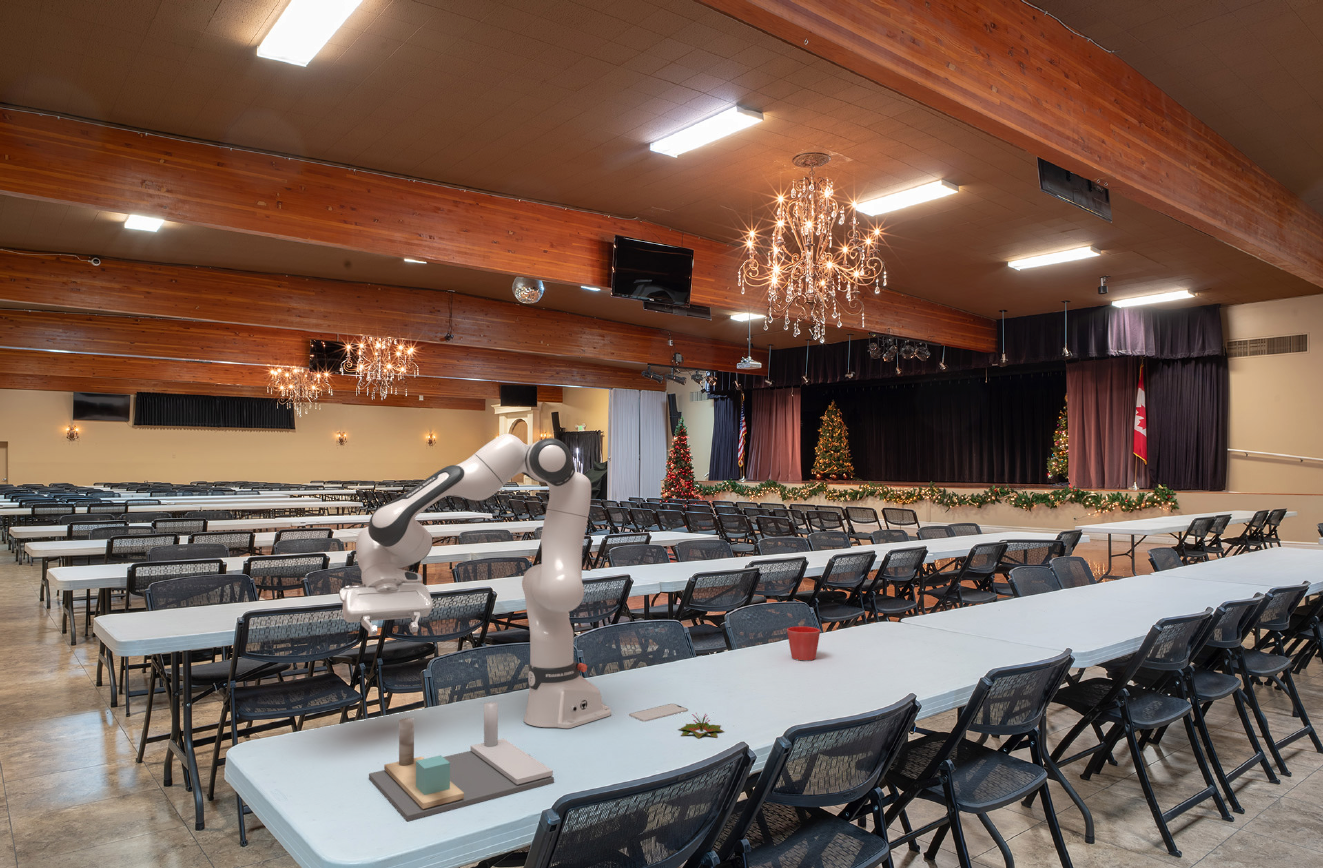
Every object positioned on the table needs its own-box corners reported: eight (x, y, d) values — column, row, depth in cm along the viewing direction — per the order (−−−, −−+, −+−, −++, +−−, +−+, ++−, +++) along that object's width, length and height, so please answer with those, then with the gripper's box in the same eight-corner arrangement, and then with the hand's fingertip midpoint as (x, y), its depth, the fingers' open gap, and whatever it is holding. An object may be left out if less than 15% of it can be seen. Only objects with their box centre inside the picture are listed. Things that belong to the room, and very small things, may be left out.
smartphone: (627, 714, 207) (672, 703, 216) (627, 716, 207) (672, 705, 216) (643, 721, 201) (689, 709, 211) (643, 723, 201) (689, 711, 211)
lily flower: (723, 742, 187) (723, 723, 188) (673, 740, 189) (672, 720, 190) (728, 726, 199) (727, 707, 199) (680, 723, 201) (680, 705, 201)
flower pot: (801, 653, 274) (800, 624, 275) (826, 658, 266) (826, 629, 266) (780, 657, 268) (780, 628, 268) (806, 663, 259) (805, 633, 260)
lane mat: (502, 747, 183) (502, 743, 183) (553, 782, 163) (553, 777, 163) (368, 778, 166) (368, 773, 166) (407, 821, 146) (407, 815, 146)
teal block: (440, 780, 159) (440, 755, 159) (449, 788, 154) (449, 762, 155) (415, 786, 156) (415, 760, 156) (424, 795, 152) (424, 768, 152)
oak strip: (421, 761, 172) (422, 714, 172) (464, 798, 152) (464, 745, 153) (384, 769, 167) (384, 721, 168) (422, 808, 148) (423, 754, 148)
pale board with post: (503, 742, 183) (503, 698, 183) (552, 775, 164) (552, 725, 164) (470, 750, 178) (470, 704, 179) (516, 784, 159) (516, 733, 159)
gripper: (341, 578, 183) (351, 628, 175) (427, 573, 196) (440, 620, 187) (334, 594, 187) (344, 645, 178) (420, 589, 199) (432, 636, 191)
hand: (394, 632), depth 183 cm, fingers open, 8 cm apart
